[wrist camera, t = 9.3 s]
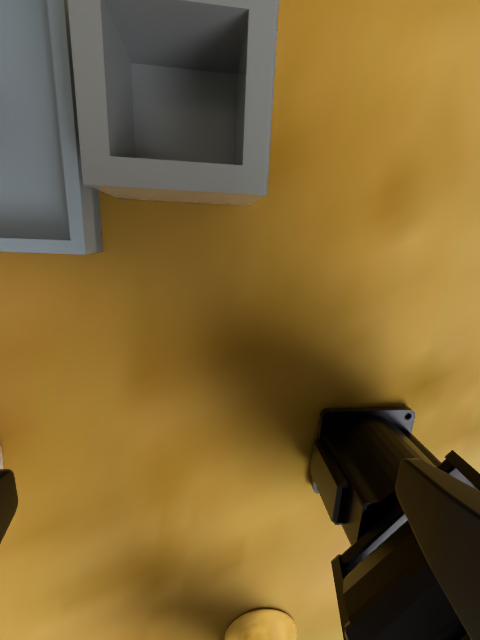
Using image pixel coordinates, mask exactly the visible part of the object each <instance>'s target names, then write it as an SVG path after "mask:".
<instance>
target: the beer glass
mask: <svg viewBox="0 0 480 640" xmlns="http://www.w3.org/2000/svg"><path fill="white" fill-rule="evenodd" d="M224 640H298V637H297V630H296V626H295V623H294V621H293V620H292V618H291V617H290V616H288V615H287V614H286V613H284V612H282V611H279V610H275V609H258V610H254V611H251V612H248V613H245V614H243V615H242V616H240V617H238V618H237V619H236V620H235V621H233V622H232V623H231V625H230V626H229V627H228V629H227V631H226V633H225V636H224Z"/></svg>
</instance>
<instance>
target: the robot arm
mask: <svg viewBox="0 0 480 640" xmlns="http://www.w3.org/2000/svg"><path fill="white" fill-rule="evenodd" d="M407 413H408V414H407ZM406 414H407V415H406ZM328 415H331V416H330V417H329V418H326V417H327V416H328ZM405 415H406V416H405ZM414 419H415V413H414V411H412V410H411V409H410V408H409V407H370V408H328V409H324V410H323V411H322V412H321V414H320V420H319V428H318V436H317V439H316V440H315V441H314V443H313V452H312V460H311V468H310V473H311V475H312V488H313V490H314V492H316V493H319V494H320V496H321V498H322V500H323V503H324V505H325V507H326V509H327V512H328V514H329V516H330V519H331V521H332V522H333V523H334V524H335V525H342V527H343V529H344V531H345V533H346V535H347V538H348V540H349V542H350V544H351V546H350V547H349V548H348V549H347V550H346V551H345V552H344V553H343V554H342V555H337V556H336V557H335V558H334V559H333V560H332V561H331V564H332V570H333V576H334V582H335V588H336V594H337V601H338V607H339V613H340V619H341V625H342V632H343V638H344V640H480V474H479V473H478V472H477V471H476V470H475V469H474V468H472V467H471V466H470V465H469V464H468V463H467V462H466V461H464V460H463V459H462V458H461V457H460V456H459V455H458V454H456V453H455V452H454V451H453V450H452V451H451V452H450V453H448V454H447V455H446V456H445V458H446V459H445V460H444V461H443V462H442V463H441V462H440V461H439V460H438V459H437V458H436V457H435V456H434V455H433V454H432V453H431V452H430V451H429V450H428V449H427V448H426V447H425V446H424V445H423V444H421V443H420V442H419V441H418V440H417V439H416V438H415V437H414V436H413V435H412V434H411V432H412V428H413V423H414ZM17 505H18V496H17V490H16V483H15V477H14V473H13V472H12V470H9V469H0V543H1V541H2V539H3V537H4V535H5V533H6V531H7V529H8V527H9V525H10V523H11V521H12V518H13V516H14V514H15V512H16V509H17Z"/></svg>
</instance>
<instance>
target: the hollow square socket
mask: <svg viewBox="0 0 480 640" xmlns="http://www.w3.org/2000/svg"><path fill="white" fill-rule="evenodd" d="M278 7H279V0H68V11H69V23H70V35H71V47H72V59H73V71H74V83H75V95H76V107H77V118H78V130H79V142H80V154H81V166H82V178H83V185H85V186H88V187H91V188H93V189H96V190H98V191H101V192H103V193H106V194H108V195H111V196H113V197H116V198H119V199H133V200H152V201H170V202H188V203H207V204H225V205H244V206H250V205H252V204H253V203H255V202H257V201H258V200H260V199H262V198H263V197H265V196H267V188H268V172H269V155H270V139H271V122H272V106H273V89H274V73H275V57H276V40H277V24H278Z"/></svg>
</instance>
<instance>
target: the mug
mask: <svg viewBox="0 0 480 640" xmlns="http://www.w3.org/2000/svg"><path fill="white" fill-rule="evenodd" d="M0 469H3V456H2V450H1V445H0Z"/></svg>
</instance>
